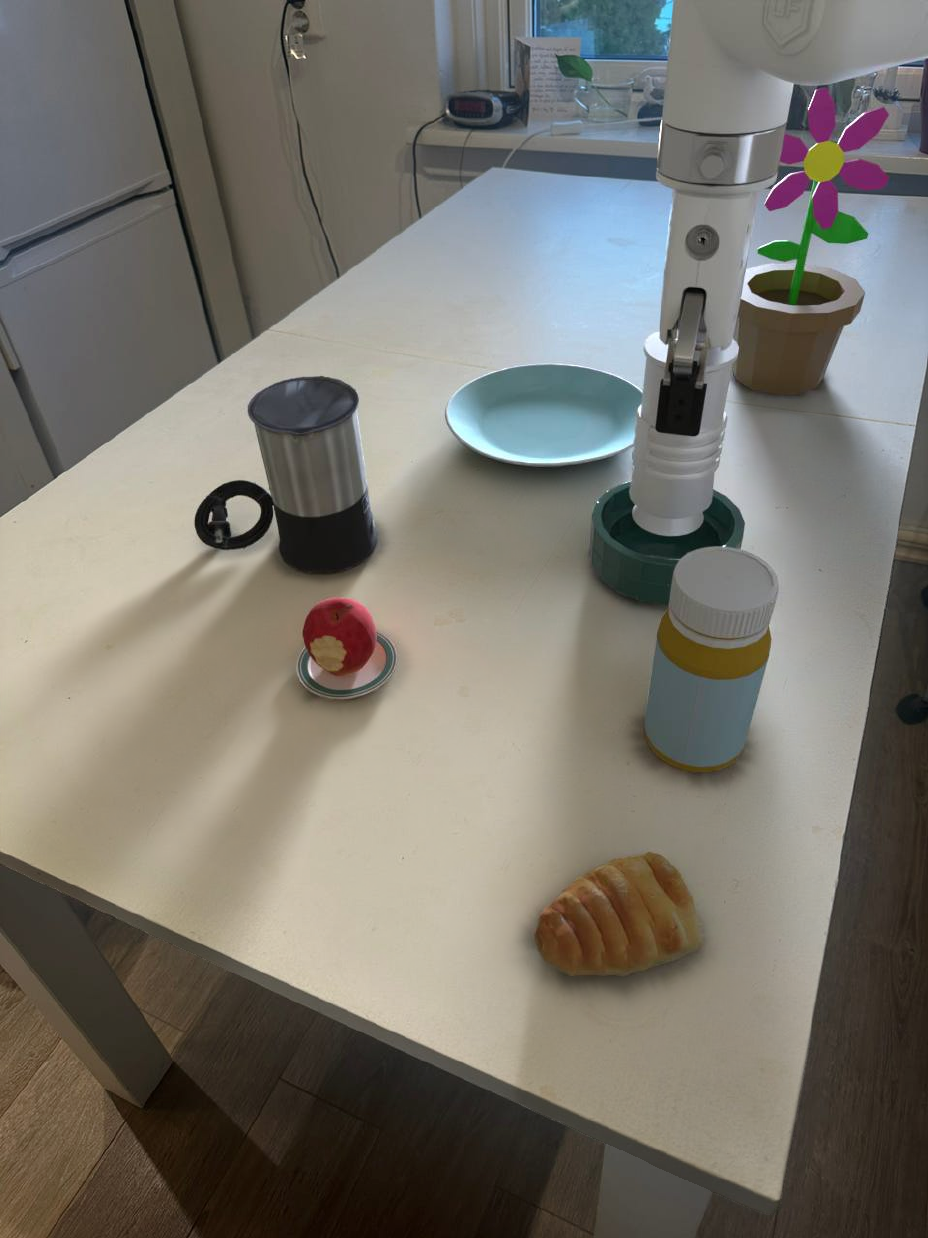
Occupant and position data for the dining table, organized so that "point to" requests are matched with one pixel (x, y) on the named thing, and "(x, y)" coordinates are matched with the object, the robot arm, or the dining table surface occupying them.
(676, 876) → the pastry
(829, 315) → the flowerpot
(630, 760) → the dining table surface
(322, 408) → the milk frother
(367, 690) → the apple
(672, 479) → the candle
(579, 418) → the plate
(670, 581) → the bowl
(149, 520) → the dining table surface
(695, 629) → the bottle
